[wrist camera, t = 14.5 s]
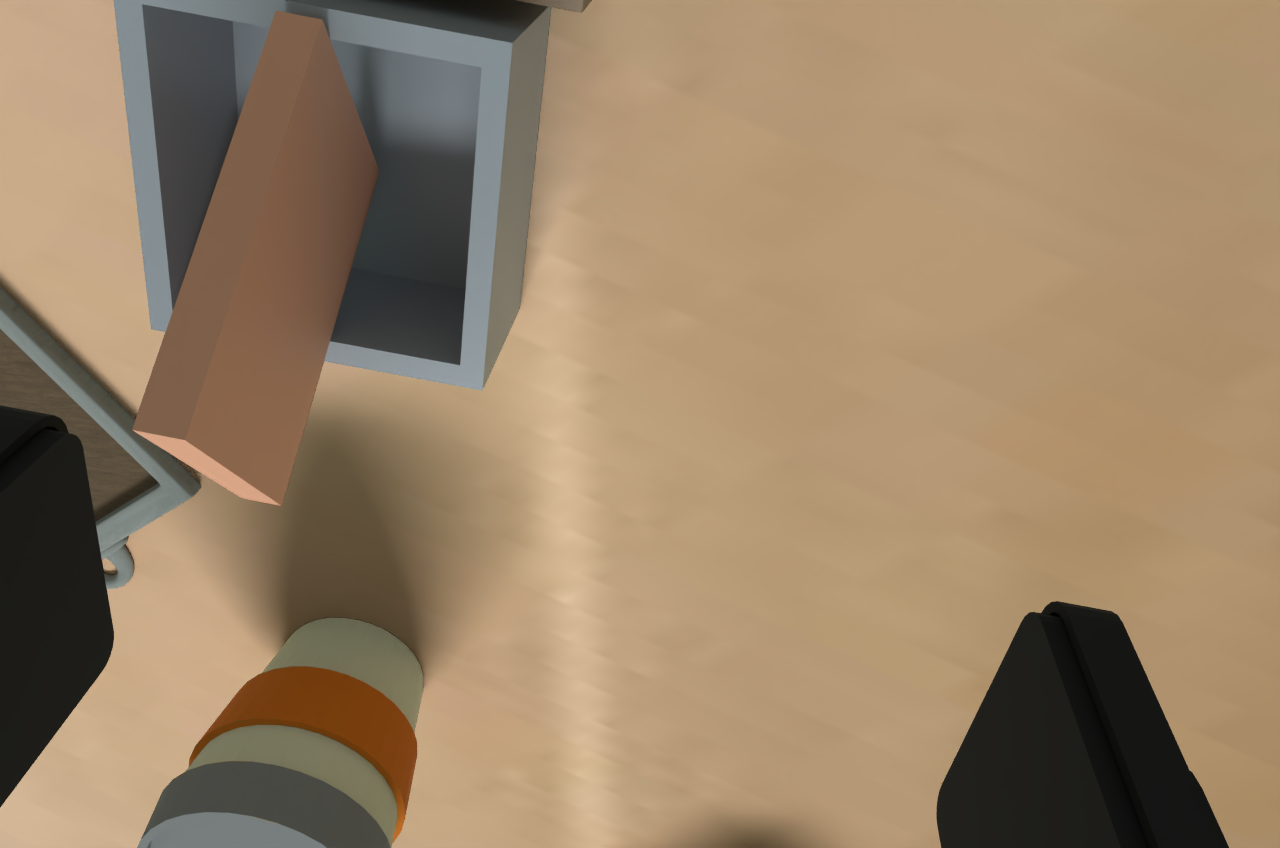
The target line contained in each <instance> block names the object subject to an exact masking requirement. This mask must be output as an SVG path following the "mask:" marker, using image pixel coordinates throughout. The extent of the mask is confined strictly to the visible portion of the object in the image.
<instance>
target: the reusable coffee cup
mask: <svg viewBox="0 0 1280 848" xmlns="http://www.w3.org/2000/svg"><path fill="white" fill-rule="evenodd" d="M423 687H424V676H423V673H422V669H421V666H420V664H419V662H418V660H417V659H416V657H415V655H414V654H413V653H412V652H411V651H410V649H409V648H408V647H407V646H406V645H405V644H404V643H403V642H401V641H400V640H399V639H398V638H397V637H395V636H394V635H392V634H390V633H389V632H387V631H386V630H384V629H382V628H379V627H377V626H375V625H373V624H370V623H366V622H363V621H359V620H355V619H348V618H326V619H320V620H315V621H313V622H310V623H307V624H305V625H303V626H302V627H300V628H299V629H297V630H296V631H295V632H294V633H293V634H292V635H291V636H290V638H289V639H288V640H287V641H286V643H285V644H284V645H283V647H282V648H281V649H280V650H279V652H278V653H277V654H276V656H275V657H274V658H273V659H272V661H271V662H270V663H269V665H268V666H267V667H266V668H265V670H264V671H263V672H262V673H261V674H259V675H257V676H256V677H254V678H253V679H251V680H249V681H248V682H247V683H246V684H245V685H244V686H243V687H242V688H241V689H240V690H239V691H238V693H237V694H236V695H235V696H234V698H233V699H232V700H231V702H230V703H229V704H228V705H227V707H226V708H225V709H224V710H223V712H222V713H221V714H220V716H219V717H218V718H217V719H216V721H215V722H214V723H213V724H212V726H211V727H210V728H209V729H208V731H207V732H206V733H205V735H204V736H203V737H202V738H201V740H200V741H199V742H198V743H197V745H196V746H195V748H194V750H193V752H192V754H191V757H190V759H189V768H188V769H187V770H186V771H185V772H184V773H183V774H181V775H179V776H178V777H176V778H175V779H173V780H172V781H171V782H170V783H169V785H168V786H167V787H166V788H165V789H164V790H163V792H162V794H161V796H160V798H159V801H158V803H157V805H156V807H155V810H154V812H153V814H152V816H151V818H150V821H149V823H148V825H147V827H146V830H145V832H144V834H143V836H142V838H141V841H140V843H139V845H138V847H137V848H391V847H392V843H393V842H394V841H395V839H396V838H397V836H398V835H399V834H400V832H401V830H402V826H403V823H404V820H405V815H406V810H407V805H408V800H409V794H410V789H411V784H412V779H413V774H414V769H415V763H416V758H417V741H416V737H415V734H414V732H415V727H416V722H417V717H418V712H419V707H420V702H421V697H422V692H423Z"/></svg>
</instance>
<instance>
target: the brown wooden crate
mask: <svg viewBox="0 0 1280 848" xmlns="http://www.w3.org/2000/svg"><path fill="white" fill-rule="evenodd" d="M516 1H521V2H526V3H532V4H537V5H542V6H548V7H553V8H559V9H564V10H569V11H575V12H580V13H582V12H583V11H584V9H585V8H586V7H587V6H588V5H589V3H590V2H591V1H592V0H516Z"/></svg>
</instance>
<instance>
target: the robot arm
mask: <svg viewBox="0 0 1280 848" xmlns="http://www.w3.org/2000/svg"><path fill="white" fill-rule="evenodd" d="M113 641H114V631H113V625H112V619H111V613H110V606H109V600H108V594H107V588H106V582H105V576H104V570H103V564H102V558H101V552H100V546H99V540H98V534H97V528H96V522H95V516H94V510H93V504H92V498H91V492H90V486H89V480H88V474H87V468H86V462H85V456H84V450H83V446H82V443H81V440H80V439H79V438H78V436H76V435H74V434H70V433H69V432H68V429H67V426H66V424H65V423H64V422H63V420H62V419H61V418H59V417H57V416H55V415H50V414H45V413H39V412H34V411H28V410H23V409H18V408H12V407H7V406H1V405H0V807H1V806H2V804H3V803H4V802H5V800H6V799H7V798H8V796H9V795H10V794H11V792H12V791H13V790H14V788H15V787H16V786H17V784H18V783H19V782H20V780H21V779H22V778H23V776H24V775H25V774H26V772H27V771H28V770H29V768H30V767H31V766H32V764H33V763H34V762H35V760H36V759H37V758H38V756H39V755H40V754H41V752H42V751H43V750H44V748H45V747H46V746H47V744H48V743H49V742H50V740H51V739H52V738H53V736H54V735H55V734H56V732H57V731H58V730H59V728H60V727H61V726H62V724H63V723H64V722H65V720H66V719H67V718H68V716H69V715H70V714H71V712H72V711H73V710H74V708H75V707H76V706H77V704H78V703H79V702H80V700H81V699H82V698H83V696H84V695H85V694H86V692H87V691H88V690H89V688H90V687H91V685H92V684H93V683H94V681H95V680H96V679H97V677H98V676H99V675H100V673H101V672H102V671H103V669H104V667H105V666H106V664H107V662H108V660H109V657H110V655H111V651H112V648H113ZM937 825H938V831H939V837H940V842H941V848H1229V846H1228V844H1227V842H1226V840H1225V838H1224V835H1223V833H1222V831H1221V829H1220V827H1219V825H1218V822H1217V820H1216V818H1215V816H1214V814H1213V811H1212V809H1211V807H1210V805H1209V803H1208V800H1207V798H1206V796H1205V794H1204V792H1203V789H1202V788H1201V786H1200V784H1199V783H1198V781H1197V779H1196V778H1195V776H1194V775H1193V773H1192V772H1191V771H1190V770H1189V769H1188V766H1187V764H1186V762H1185V760H1184V757H1183V755H1182V753H1181V751H1180V749H1179V746H1178V744H1177V742H1176V740H1175V737H1174V735H1173V733H1172V731H1171V729H1170V726H1169V724H1168V722H1167V720H1166V718H1165V715H1164V713H1163V711H1162V709H1161V706H1160V704H1159V702H1158V700H1157V698H1156V695H1155V693H1154V691H1153V689H1152V687H1151V684H1150V682H1149V680H1148V678H1147V675H1146V673H1145V671H1144V669H1143V667H1142V664H1141V662H1140V660H1139V658H1138V655H1137V653H1136V651H1135V649H1134V647H1133V644H1132V642H1131V640H1130V638H1129V636H1128V633H1127V631H1126V629H1125V627H1124V624H1123V622H1122V621H1121V619H1120V618H1119V616H1118V615H1117V614H1115V613H1113V612H1112V611H1107V610H1101V609H1096V608H1091V607H1085V606H1080V605H1074V604H1069V603H1064V602H1058V601H1056V602H1051V603H1050V604H1048V605H1047V606H1046V607H1045V608H1044V610H1043V611H1042V613H1036V612H1030V613H1028V614H1027V615H1026V616H1025V617H1024V619H1023V620H1022V622H1021V624H1020V626H1019V628H1018V630H1017V632H1016V634H1015V636H1014V638H1013V640H1012V642H1011V645H1010V647H1009V649H1008V651H1007V653H1006V655H1005V657H1004V659H1003V661H1002V663H1001V665H1000V667H999V669H998V671H997V673H996V675H995V677H994V679H993V681H992V683H991V685H990V687H989V689H988V691H987V694H986V696H985V698H984V700H983V702H982V704H981V706H980V708H979V710H978V712H977V714H976V716H975V718H974V720H973V722H972V724H971V726H970V728H969V730H968V732H967V734H966V736H965V738H964V741H963V743H962V745H961V747H960V749H959V751H958V753H957V755H956V757H955V759H954V761H953V763H952V765H951V767H950V769H949V771H948V773H947V775H946V777H945V779H944V781H943V783H942V786H941V789H940V791H939V796H938V801H937Z"/></svg>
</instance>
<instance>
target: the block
mask: <svg viewBox="0 0 1280 848" xmlns="http://www.w3.org/2000/svg"><path fill="white" fill-rule="evenodd" d="M379 172H380V171H379V168H378V166H377V163H376V160H375V158H374V155H373V152H372V150H371V147H370V145H369V142H368V139H367V137H366V134H365V131H364V129H363V126H362V123H361V121H360V118H359V115H358V113H357V110H356V107H355V105H354V102H353V99H352V97H351V94H350V91H349V89H348V86H347V83H346V81H345V78H344V75H343V73H342V70H341V67H340V65H339V62H338V60H337V57H336V54H335V52H334V49H333V46H332V44H331V41H330V38H329V36H328V33H327V30H326V28H325V25H324V22H323V20H322V19H317V18H312V17H307V16H302V15H297V14H291V13H286V12H281V11H276V12H275V15H274V18H273V20H272V23H271V26H270V29H269V32H268V35H267V38H266V41H265V44H264V47H263V50H262V53H261V55H260V58H259V61H258V64H257V67H256V70H255V73H254V76H253V79H252V82H251V85H250V88H249V90H248V93H247V96H246V99H245V102H244V105H243V108H242V111H241V114H240V117H239V120H238V122H237V125H236V128H235V131H234V134H233V137H232V140H231V143H230V146H229V149H228V152H227V155H226V157H225V160H224V163H223V166H222V169H221V172H220V175H219V178H218V181H217V184H216V187H215V190H214V192H213V195H212V198H211V201H210V204H209V207H208V210H207V213H206V216H205V219H204V222H203V224H202V227H201V230H200V233H199V236H198V239H197V242H196V245H195V248H194V251H193V254H192V257H191V259H190V262H189V265H188V268H187V271H186V274H185V277H184V280H183V283H182V286H181V289H180V292H179V294H178V297H177V300H176V303H175V306H174V309H173V312H172V315H171V318H170V321H169V324H168V326H167V329H166V332H165V335H164V338H163V341H162V344H161V347H160V350H159V353H158V356H157V359H156V361H155V364H154V367H153V370H152V373H151V376H150V379H149V382H148V385H147V388H146V391H145V394H144V396H143V399H142V402H141V405H140V408H139V411H138V414H137V417H136V420H135V423H134V426H133V428H132V430H133V431H135V432H136V433H138V434H139V435H141V436H143V437H144V438H146V439H147V440H149V441H151V442H152V443H154V444H155V445H157V446H159V447H160V448H162V449H163V450H165V451H167V452H168V453H170V454H171V455H173V456H175V457H176V458H178V459H179V460H181V461H183V462H184V463H186V464H187V465H189V466H191V467H192V468H194V469H196V470H197V471H199V472H200V473H202V474H204V475H205V476H207V477H208V478H210V479H212V480H213V481H215V482H216V483H218V484H220V485H221V486H223V487H224V488H226V489H228V490H229V491H231V492H232V493H234V494H236V495H237V496H239V497H240V498H243V499H248V500H253V501H258V502H264V503H269V504H274V505H279V506H282V503H283V500H284V496H285V493H286V490H287V486H288V483H289V479H290V476H291V472H292V469H293V466H294V462H295V459H296V455H297V452H298V449H299V445H300V442H301V438H302V435H303V432H304V428H305V425H306V421H307V418H308V414H309V411H310V408H311V404H312V401H313V397H314V394H315V391H316V387H317V384H318V380H319V377H320V373H321V370H322V367H323V363H324V360H325V356H326V353H327V350H328V346H329V343H330V339H331V336H332V333H333V329H334V326H335V322H336V319H337V315H338V312H339V309H340V305H341V302H342V298H343V295H344V292H345V288H346V285H347V281H348V278H349V274H350V271H351V268H352V264H353V261H354V257H355V254H356V251H357V247H358V244H359V240H360V237H361V234H362V230H363V227H364V223H365V220H366V216H367V213H368V210H369V206H370V203H371V199H372V196H373V193H374V189H375V186H376V182H377V179H378V175H379Z"/></svg>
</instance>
